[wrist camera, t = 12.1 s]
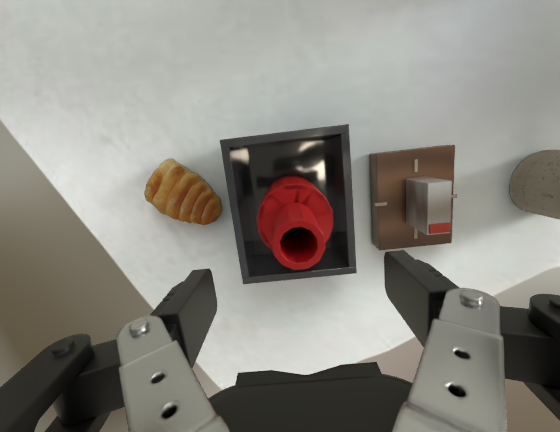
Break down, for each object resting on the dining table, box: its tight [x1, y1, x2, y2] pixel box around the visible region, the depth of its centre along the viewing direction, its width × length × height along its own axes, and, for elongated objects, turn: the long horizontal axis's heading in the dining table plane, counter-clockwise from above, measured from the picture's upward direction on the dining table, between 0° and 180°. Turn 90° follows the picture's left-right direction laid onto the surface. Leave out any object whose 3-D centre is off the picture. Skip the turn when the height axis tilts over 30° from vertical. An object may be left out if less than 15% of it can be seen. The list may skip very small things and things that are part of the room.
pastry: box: [145, 159, 222, 225], centre depth 33 cm, size 9×7×4 cm
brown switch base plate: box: [370, 145, 457, 250], centre depth 33 cm, size 12×10×3 cm
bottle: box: [257, 174, 333, 270], centre depth 25 cm, size 7×7×17 cm
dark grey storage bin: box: [220, 124, 356, 284], centre depth 31 cm, size 16×13×8 cm
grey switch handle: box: [406, 177, 452, 235], centre depth 29 cm, size 6×2×5 cm, turn 7°
